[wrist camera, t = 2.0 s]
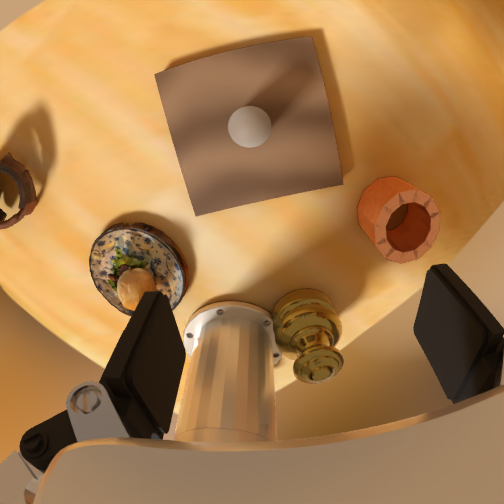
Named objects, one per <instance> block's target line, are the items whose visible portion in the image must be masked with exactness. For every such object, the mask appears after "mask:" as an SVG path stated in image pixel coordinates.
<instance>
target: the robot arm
mask: <svg viewBox="0 0 504 504" xmlns="http://www.w3.org/2000/svg"><path fill="white" fill-rule="evenodd" d="M414 334H415V336H416V338H417V340H418V342H419V344H420V345H421V347H422V349H423V351H424V353H425V355H426V356H427V358H428V360H429V362H430V364H431V366H432V368H433V370H434V372H435V374H436V376H437V378H438V380H439V382H440V384H441V386H442V388H443V390H444V392H445V394H446V396H447V398H448V399H450V400H452V402H453V404H452V405H450V406H447V407H444V408H441V409H438V410H435V411H432V412H428V413H425V414H422V415H418V416H415V417H412V418H408V419H404V420H401V421H396V422H393V423H389V424H384V425H380V426H376V427H371V428H366V429H361V430H356V431H350V432H344V433H338V434H332V435H326V436H318V437H310V438H301V439H292V440H279V441H277V427H276V406H275V386H274V367H273V366H274V365H275V364H276V363H277V362H278V361H279V359H280V358H281V356H282V353H281V352H280V351H279V350H278V348H277V346H276V343H275V335H274V332H273V321H272V315H271V314H270V313H269V312H267V311H266V310H264V309H262V308H260V307H258V306H255V305H252V304H249V303H244V302H239V301H224V302H217V303H213V304H210V305H207V306H205V307H203V308H201V309H199V310H198V311H197V312H195V313H194V314H193V315H192V316H191V318H190V319H189V320H188V322H187V324H186V327H185V330H184V334H183V342H182V339H181V336H180V333H179V330H178V327H177V324H176V321H175V318H174V315H173V312H172V308H171V305H170V302H169V299H168V296H167V295H166V294H165V295H163V293H162V292H161V291H146V292H144V294H143V296H142V297H141V299H140V301H139V303H138V305H137V307H136V309H135V311H134V313H133V315H132V317H131V318H130V320H129V322H128V324H127V326H126V328H125V330H124V331H123V333H122V335H121V337H120V339H119V341H118V343H117V345H116V347H115V349H114V351H113V353H112V355H111V358H110V360H109V362H108V364H107V366H106V368H105V370H104V372H103V375H102V377H101V379H100V381H99V383H98V382H93V381H91V382H84V383H81V384H79V385H78V386H76V387H75V388H74V389H73V390H72V391H71V392H70V394H69V395H68V397H67V401H66V405H67V410H65V411H63V412H61V413H59V414H57V415H55V416H54V417H52V418H50V419H48V420H46V421H44V422H43V423H40V424H38V425H36V426H34V427H33V428H31V429H29V430H28V431H26V433H25V434H24V435H23V437H22V439H21V441H20V452H17V451H16V450H15V451H14V452H13V453H11V454H10V455H9V456H8V457H7V458H6V459H5V460H4V461H3V462H2V463H1V464H0V504H504V338H503V335H504V328H503V327H502V326H501V325H500V323H499V322H498V321H497V320H496V319H495V317H494V316H493V315H492V314H491V313H490V311H489V310H488V309H487V308H486V307H485V306H484V304H483V303H482V302H481V301H480V300H479V298H478V297H477V296H476V295H475V294H474V293H473V292H472V291H471V289H470V288H469V287H468V286H467V285H466V284H465V283H464V282H463V281H462V280H461V279H460V278H459V276H458V275H457V274H456V273H455V272H454V271H453V270H452V269H451V268H450V267H449V266H448V265H447V264H438V265H433V266H431V268H430V270H428V271H427V273H426V278H425V283H424V287H423V292H422V296H421V300H420V304H419V308H418V312H417V316H416V320H415V323H414ZM183 343H184V345H183ZM184 347H185V348H184ZM185 349H186V351H187V353H188V355H189V356H190V357H191V360H190V364H189V369H188V373H187V378H186V382H185V387H184V392H183V396H182V401H181V406H180V410H179V415H178V420H177V425H176V431H175V435H174V440H173V441H171V440H163V435H164V433H166V434H167V433H168V431H169V428H170V423H171V418H172V414H173V410H174V405H175V401H176V397H177V392H178V388H179V384H180V379H181V375H182V371H183V367H184V363H185V358H186V352H185Z"/></svg>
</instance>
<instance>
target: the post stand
mask: <svg viewBox="0 0 504 504" xmlns="http://www.w3.org/2000/svg"><path fill="white" fill-rule="evenodd" d="M154 75H155V79H156V82H157V86H158V90H159V94H160V97H161V101H162V105H163V108H164V112H165V116H166V119H167V123H168V126H169V130H170V133H171V137H172V140H173V144H174V147H175V151H176V154H177V157H178V161H179V164H180V167H181V171H182V174H183V177H184V180H185V184H186V187H187V190H188V193H189V197H190V200H191V203H192V206H193V209H194V212H195V215H196V216H199V215H203V214H207V213H212V212H216V211H220V210H224V209H228V208H233V207H237V206H241V205H246V204H250V203H255V202H259V201H264V200H268V199H273V198H278V197H282V196H287V195H292V194H297V193H302V192H306V191H311V190H317V189H322V188H327V187H332V186H337V185H343V179H342V173H341V166H340V160H339V154H338V148H337V143H336V137H335V132H334V127H333V122H332V117H331V112H330V107H329V103H328V98H327V94H326V90H325V85H324V81H323V77H322V73H321V69H320V65H319V61H318V57H317V54H316V50H315V46H314V43H313V39H312V36H310V37H301V38H294V39H287V40H281V41H275V42H269V43H264V44H258V45H253V46H249V47H244V48H240V49H235V50H231V51H227V52H223V53H219V54H216V55H212V56H208V57H205V58H201V59H198V60H195V61H192V62H188V63H185V64H182V65H179V66H176V67H173V68H170V69H168V70H165V71H162V72H159V73H157V74H154Z"/></svg>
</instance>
